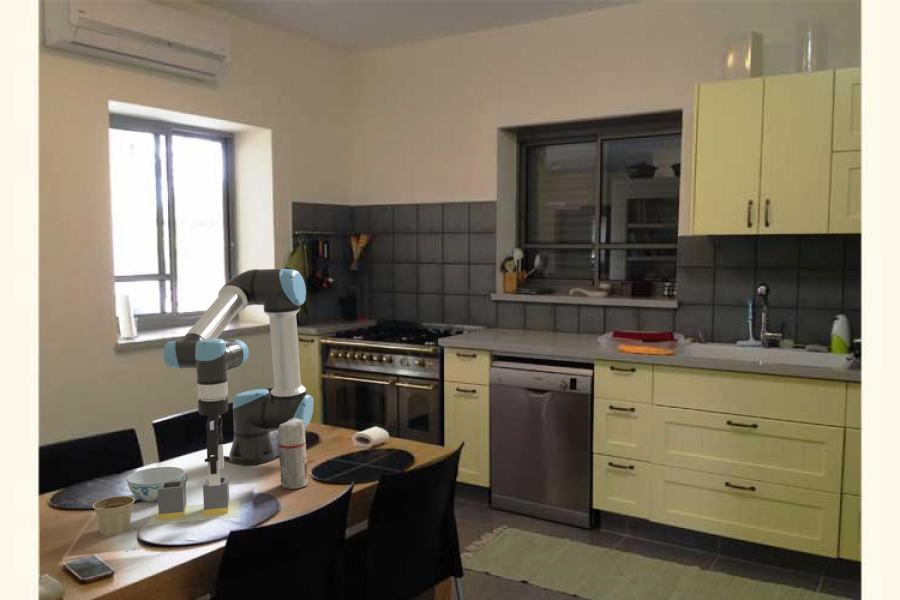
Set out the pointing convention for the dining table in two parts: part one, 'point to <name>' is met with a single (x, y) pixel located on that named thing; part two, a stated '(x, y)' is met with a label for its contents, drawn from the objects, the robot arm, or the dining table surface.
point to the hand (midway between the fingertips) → (216, 476)
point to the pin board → (194, 514)
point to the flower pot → (114, 514)
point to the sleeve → (216, 497)
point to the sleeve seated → (172, 499)
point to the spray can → (293, 454)
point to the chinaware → (152, 481)
